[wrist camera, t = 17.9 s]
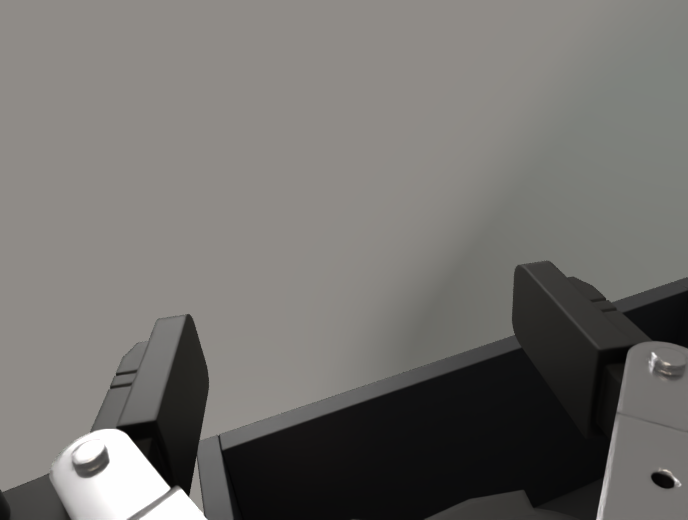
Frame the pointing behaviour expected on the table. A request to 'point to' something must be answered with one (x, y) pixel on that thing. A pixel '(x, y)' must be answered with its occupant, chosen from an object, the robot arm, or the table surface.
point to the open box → (425, 439)
